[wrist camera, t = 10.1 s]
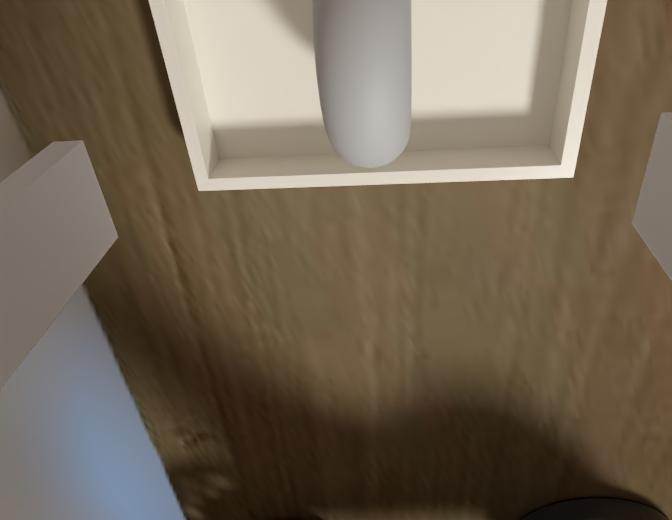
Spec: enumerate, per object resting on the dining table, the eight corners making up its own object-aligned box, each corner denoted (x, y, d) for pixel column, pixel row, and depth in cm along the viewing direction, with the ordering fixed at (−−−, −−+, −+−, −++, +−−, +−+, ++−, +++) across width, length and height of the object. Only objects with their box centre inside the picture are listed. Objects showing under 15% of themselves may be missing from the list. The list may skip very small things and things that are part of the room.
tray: (558, 151, 29) (573, 177, 27) (213, 166, 32) (198, 190, 29) (621, -226, 20) (652, -238, 18) (133, -169, 23) (103, -173, 20)
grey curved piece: (325, -110, 23) (289, -97, 15) (408, -118, 22) (417, -109, 14) (343, 118, 29) (324, 216, 21) (408, 114, 28) (416, 214, 20)
